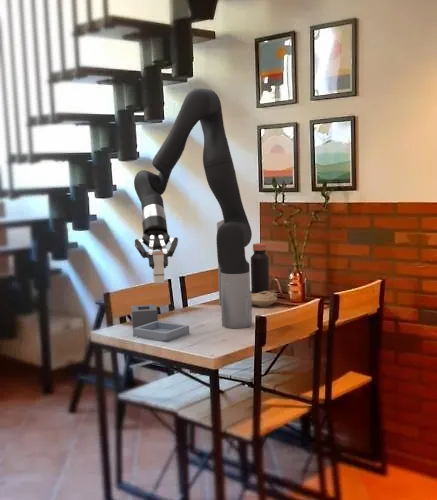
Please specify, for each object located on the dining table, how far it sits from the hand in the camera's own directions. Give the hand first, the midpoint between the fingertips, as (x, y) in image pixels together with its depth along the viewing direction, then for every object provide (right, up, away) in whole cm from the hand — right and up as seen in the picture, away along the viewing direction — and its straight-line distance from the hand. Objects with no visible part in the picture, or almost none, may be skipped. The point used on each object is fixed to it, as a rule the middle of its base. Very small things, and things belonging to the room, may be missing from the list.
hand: (159, 266), depth 206 cm
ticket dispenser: (-6, -19, +19) cm, 27 cm away
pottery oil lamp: (+32, -15, +42) cm, 55 cm away
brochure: (+22, -14, +51) cm, 57 cm away
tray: (0, -21, +5) cm, 21 cm away
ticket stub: (0, -5, +3) cm, 5 cm away
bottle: (+34, -13, +59) cm, 69 cm away
